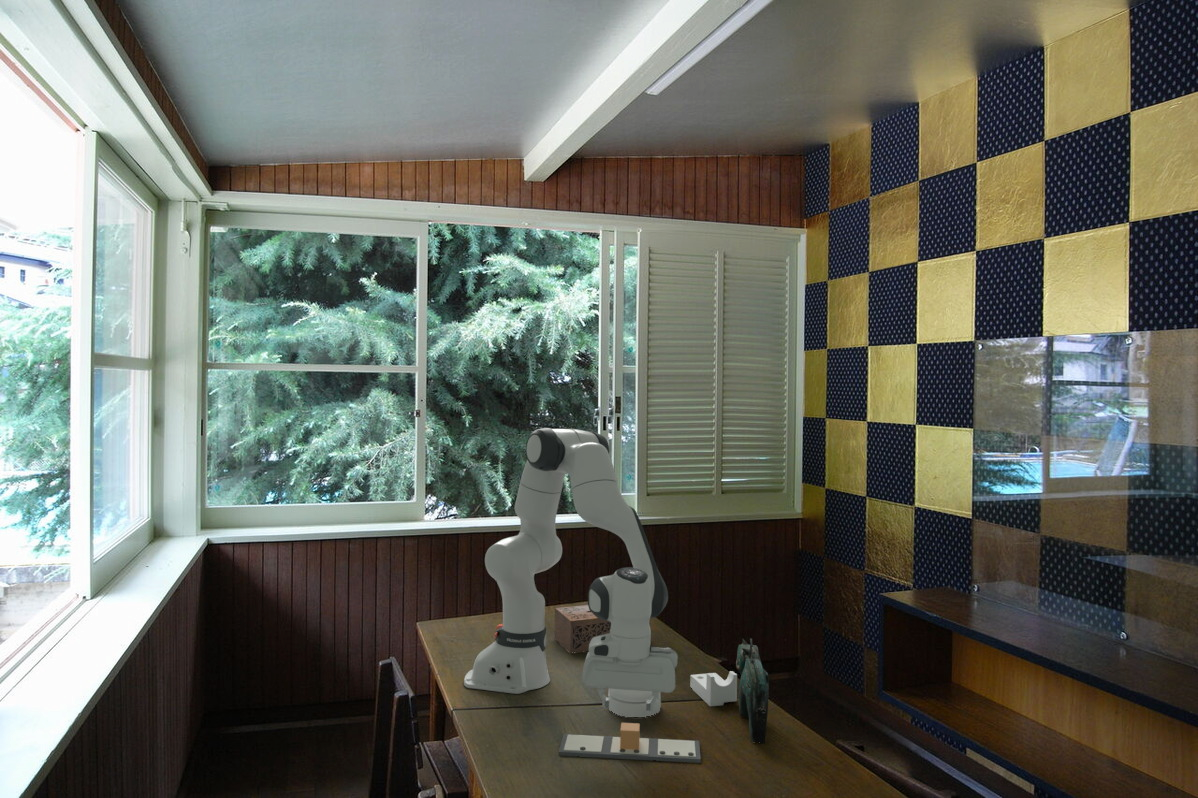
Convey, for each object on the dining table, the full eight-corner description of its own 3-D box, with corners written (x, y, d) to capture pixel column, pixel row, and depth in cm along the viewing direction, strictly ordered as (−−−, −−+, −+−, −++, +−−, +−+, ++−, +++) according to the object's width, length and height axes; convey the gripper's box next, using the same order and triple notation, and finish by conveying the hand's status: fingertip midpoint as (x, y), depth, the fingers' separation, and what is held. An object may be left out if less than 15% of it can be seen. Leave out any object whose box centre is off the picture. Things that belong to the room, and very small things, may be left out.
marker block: (620, 748, 176) (620, 730, 176) (621, 740, 180) (621, 722, 180) (638, 749, 176) (639, 731, 176) (639, 741, 180) (639, 723, 180)
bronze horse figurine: (733, 709, 201) (735, 628, 201) (760, 710, 201) (761, 628, 201) (745, 745, 181) (747, 654, 181) (775, 745, 181) (777, 655, 181)
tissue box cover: (630, 631, 263) (631, 600, 263) (650, 645, 250) (650, 612, 250) (554, 640, 254) (554, 608, 253) (570, 654, 240) (570, 620, 240)
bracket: (736, 704, 205) (737, 674, 204) (710, 707, 203) (710, 677, 203) (715, 686, 217) (715, 657, 217) (690, 688, 215) (690, 659, 215)
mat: (558, 755, 175) (558, 749, 175) (563, 737, 184) (563, 732, 184) (700, 763, 172) (700, 757, 172) (698, 744, 181) (699, 738, 181)
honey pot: (666, 701, 205) (667, 630, 205) (652, 721, 193) (653, 645, 193) (617, 694, 209) (618, 624, 209) (600, 713, 197) (602, 639, 197)
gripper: (678, 643, 180) (675, 706, 180) (585, 637, 181) (583, 699, 182) (678, 653, 173) (675, 718, 174) (581, 647, 175) (579, 711, 176)
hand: (627, 708), depth 178 cm, fingers open, 8 cm apart
